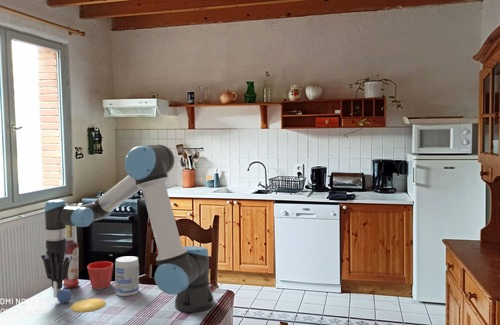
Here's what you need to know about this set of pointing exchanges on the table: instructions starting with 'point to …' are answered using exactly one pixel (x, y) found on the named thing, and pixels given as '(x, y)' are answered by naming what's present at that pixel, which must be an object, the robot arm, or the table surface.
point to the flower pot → (100, 274)
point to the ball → (64, 296)
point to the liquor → (73, 251)
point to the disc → (88, 305)
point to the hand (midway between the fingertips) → (57, 296)
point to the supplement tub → (127, 275)
